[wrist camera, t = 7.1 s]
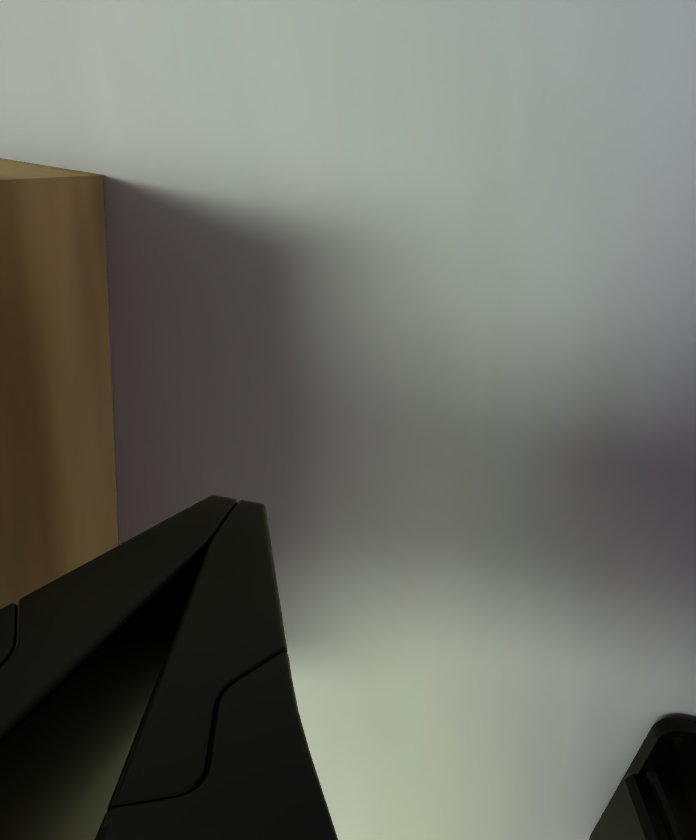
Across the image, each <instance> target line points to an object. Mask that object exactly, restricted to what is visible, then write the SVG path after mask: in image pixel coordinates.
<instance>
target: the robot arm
mask: <svg viewBox="0 0 696 840" xmlns="http://www.w3.org/2000/svg"><path fill="white" fill-rule="evenodd" d="M0 840H338V838H337V835H336V832H335V829H334V826H333V823H332V820H331V816H330V813H329V810H328V807H327V804H326V801H325V798H324V795H323V792H322V788H321V785H320V782H319V779H318V776H317V773H316V770H315V767H314V764H313V761H312V757H311V754H310V751H309V748H308V744H307V741H306V737H305V733H304V730H303V726H302V723H301V719H300V715H299V712H298V707H297V702H296V697H295V692H294V687H293V682H292V677H291V670H290V664H289V657H288V654H287V646H286V639H285V632H284V626H283V619H282V613H281V606H280V600H279V593H278V586H277V580H276V573H275V567H274V560H273V554H272V547H271V540H270V534H269V527H268V521H267V514H266V508H265V505H264V504H262V503H256V502H250V501H244V500H241V501H239V502H237V500H236V499H233V498H227V497H221V496H215V495H213V496H209V497H207V498H206V499H204V500H202V501H200V502H198V503H196V504H194V505H193V506H191V507H189V508H187V509H185V510H183V511H181V512H180V513H178V514H176V515H174V516H172V517H170V518H169V519H167V520H165V521H163V522H161V523H159V524H157V525H156V526H154V527H152V528H150V529H148V530H146V531H144V532H143V533H141V534H139V535H137V536H135V537H133V538H132V539H130V540H128V541H126V542H124V543H122V544H120V545H119V546H117V547H115V548H113V549H111V550H109V551H107V552H106V553H104V554H102V555H100V556H98V557H96V558H95V559H93V560H91V561H89V562H87V563H85V564H83V565H82V566H80V567H78V568H76V569H74V570H72V571H70V572H69V573H67V574H65V575H63V576H61V577H59V578H58V579H56V580H54V581H52V582H50V583H48V584H46V585H45V586H43V587H41V588H39V589H37V590H35V591H33V592H32V593H30V594H28V595H26V596H24V597H22V598H21V599H19V600H18V601H17V605H16V604H15V603H11V604H9V605H7V606H5V607H3V608H2V609H0ZM589 840H696V722H693V721H688V720H682V719H677V718H667V719H662V720H660V721H658V722H656V723H655V724H654V725H653V726H652V728H651V730H650V732H649V733H648V735H647V737H646V739H645V740H644V742H643V744H642V746H641V747H640V749H639V751H638V753H637V754H636V756H635V758H634V760H633V761H632V763H631V765H630V767H629V769H628V770H627V772H626V774H625V776H624V777H623V779H622V781H621V783H620V784H619V786H618V788H617V790H616V791H615V793H614V795H613V797H612V799H611V800H610V802H609V804H608V806H607V807H606V809H605V811H604V813H603V814H602V816H601V818H600V820H599V821H598V823H597V825H596V827H595V829H594V830H593V832H592V834H591V836H590V838H589Z"/></svg>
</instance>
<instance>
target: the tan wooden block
mask: <svg viewBox="0 0 696 840" xmlns="http://www.w3.org/2000/svg"><path fill="white" fill-rule="evenodd" d="M117 546H119V538H118V514H117V490H116V467H115V443H114V419H113V395H112V371H111V348H110V324H109V300H108V276H107V253H106V229H105V205H104V181H103V175H100V174H94V173H88V172H81V171H75V170H69V169H63V168H57V167H50V166H44V165H38V164H32V163H26V162H19V161H13V160H7V159H1V158H0V609H2V608H3V607H5V606H7V605H9V604H11V603H15V604H16V605H17V601H18V600H19V599H21V598H22V597H24V596H26V595H28V594H30V593H32V592H33V591H35V590H37V589H39V588H41V587H43V586H45V585H46V584H48V583H50V582H52V581H54V580H56V579H58V578H59V577H61V576H63V575H65V574H67V573H69V572H70V571H72V570H74V569H76V568H78V567H80V566H82V565H83V564H85V563H87V562H89V561H91V560H93V559H95V558H96V557H98V556H100V555H102V554H104V553H106V552H107V551H109V550H111V549H113V548H115V547H117Z"/></svg>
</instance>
